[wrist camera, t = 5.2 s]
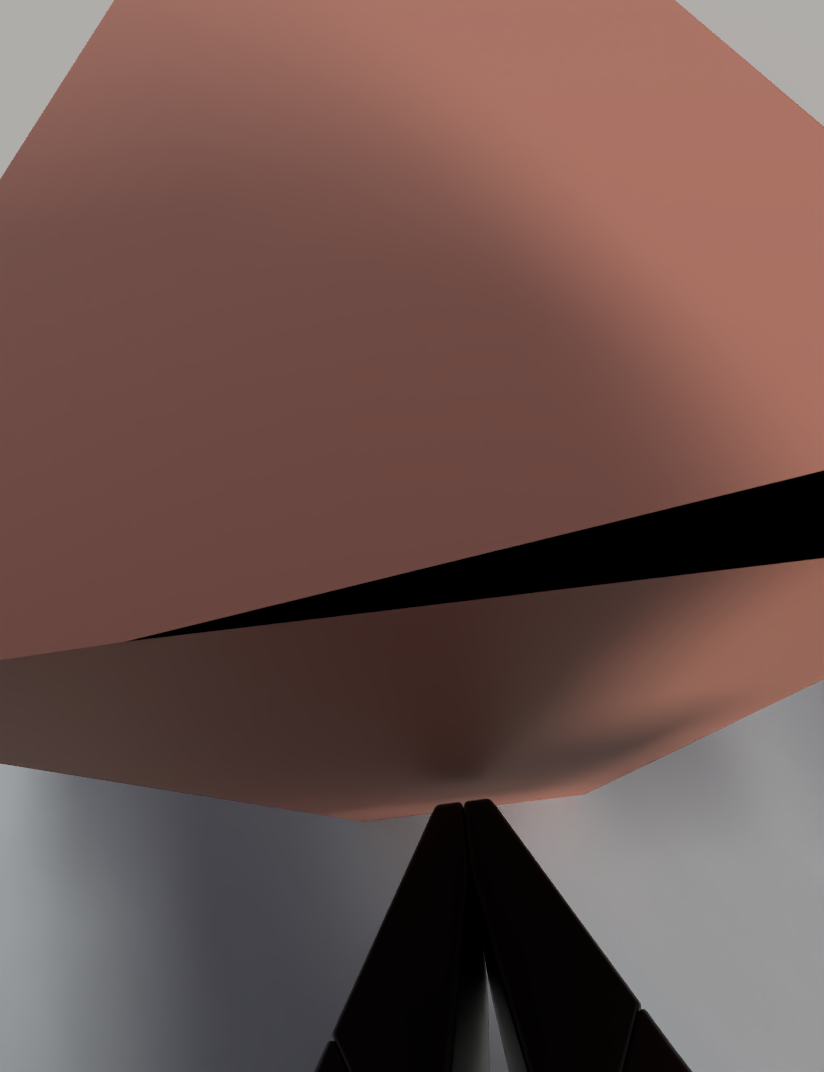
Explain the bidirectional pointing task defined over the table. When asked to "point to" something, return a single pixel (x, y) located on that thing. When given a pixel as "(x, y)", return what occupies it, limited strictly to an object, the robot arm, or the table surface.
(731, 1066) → the table surface
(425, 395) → the book box
